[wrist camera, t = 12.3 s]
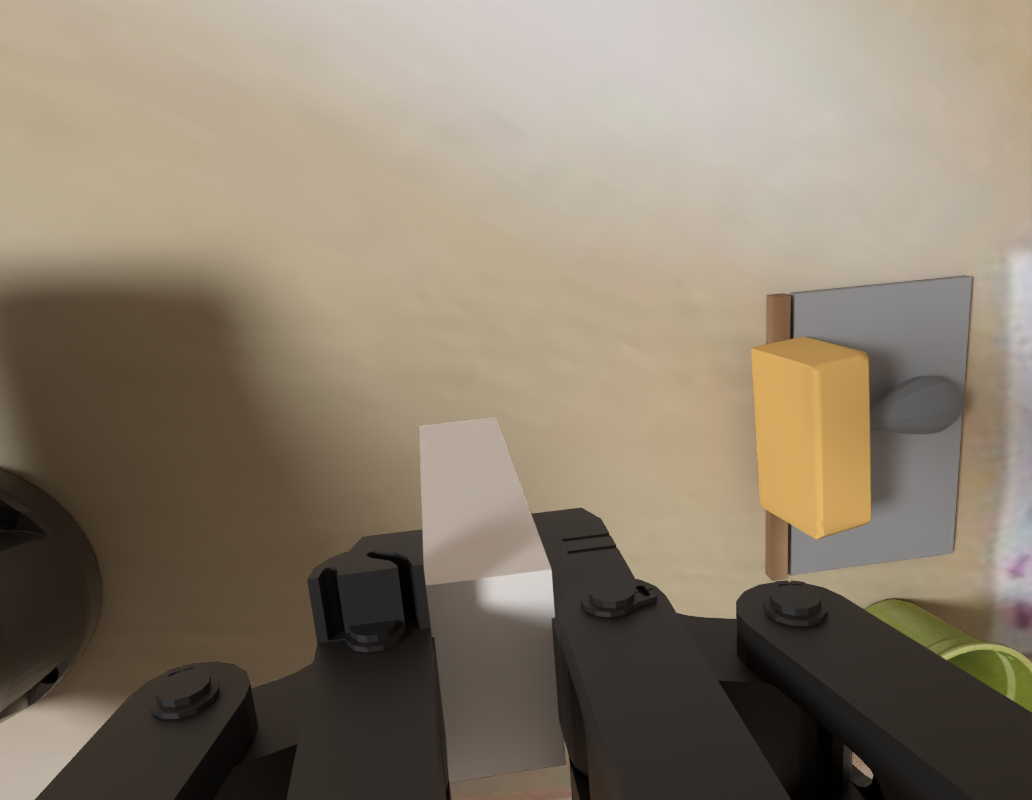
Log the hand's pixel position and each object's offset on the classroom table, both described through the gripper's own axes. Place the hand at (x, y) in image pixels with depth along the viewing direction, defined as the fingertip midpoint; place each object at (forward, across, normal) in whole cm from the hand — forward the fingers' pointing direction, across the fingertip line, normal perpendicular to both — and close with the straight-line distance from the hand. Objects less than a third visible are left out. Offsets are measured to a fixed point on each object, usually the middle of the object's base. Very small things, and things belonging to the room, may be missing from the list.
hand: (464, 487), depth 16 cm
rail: (+30, +20, -11) cm, 38 cm away
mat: (+30, +26, -11) cm, 42 cm away
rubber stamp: (+26, +18, -10) cm, 33 cm away
